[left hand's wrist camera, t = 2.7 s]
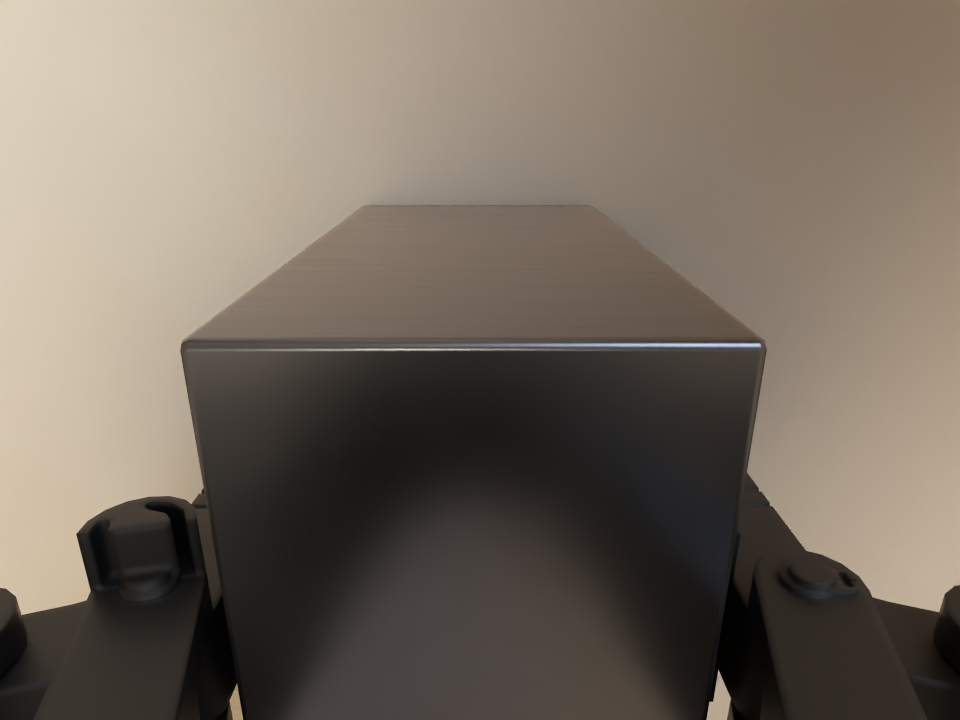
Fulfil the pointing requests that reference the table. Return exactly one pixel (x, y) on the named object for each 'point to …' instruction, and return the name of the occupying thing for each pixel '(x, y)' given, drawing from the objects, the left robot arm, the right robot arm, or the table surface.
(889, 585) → the table surface
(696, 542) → the bar
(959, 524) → the table surface
